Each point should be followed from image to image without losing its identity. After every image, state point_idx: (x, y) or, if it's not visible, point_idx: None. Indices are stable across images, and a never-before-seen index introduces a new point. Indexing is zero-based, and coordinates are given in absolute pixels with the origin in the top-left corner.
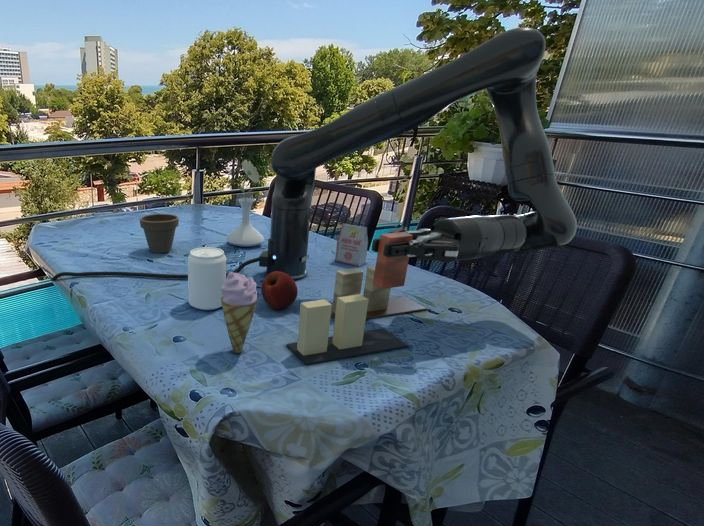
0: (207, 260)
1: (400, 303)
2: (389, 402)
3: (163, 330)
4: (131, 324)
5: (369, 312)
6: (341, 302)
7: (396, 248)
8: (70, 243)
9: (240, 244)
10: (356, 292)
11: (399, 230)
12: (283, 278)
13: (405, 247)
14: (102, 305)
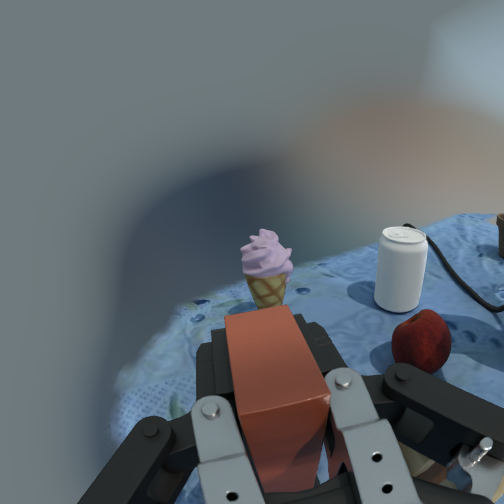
0: (382, 239)
1: None
2: (121, 427)
3: (321, 281)
4: (331, 265)
5: None
6: None
7: (197, 357)
8: (475, 221)
9: None
10: (420, 454)
11: (459, 414)
12: (415, 325)
13: (198, 390)
14: (366, 249)
